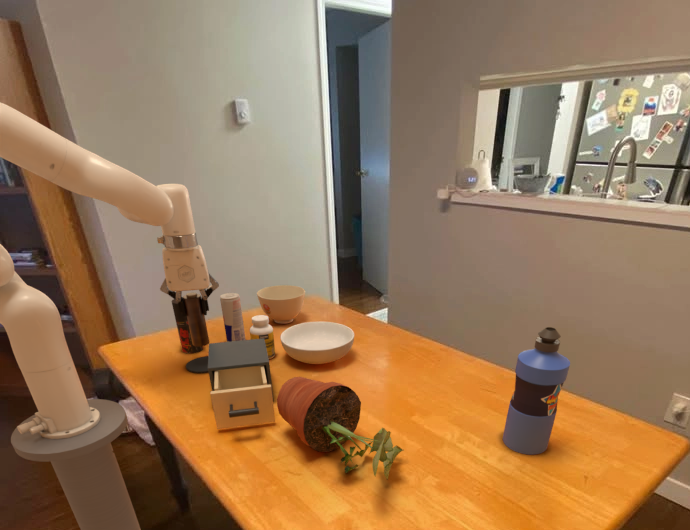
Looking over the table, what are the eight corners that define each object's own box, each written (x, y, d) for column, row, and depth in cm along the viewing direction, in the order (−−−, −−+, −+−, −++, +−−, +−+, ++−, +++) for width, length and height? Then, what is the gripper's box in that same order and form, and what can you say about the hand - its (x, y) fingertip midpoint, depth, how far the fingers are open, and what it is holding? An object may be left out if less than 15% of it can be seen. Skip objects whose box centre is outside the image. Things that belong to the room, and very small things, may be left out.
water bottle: (556, 442, 97) (587, 329, 84) (534, 460, 91) (563, 343, 78) (516, 424, 102) (539, 316, 89) (493, 441, 97) (514, 328, 84)
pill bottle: (255, 362, 130) (250, 323, 124) (250, 354, 135) (245, 315, 129) (278, 358, 132) (274, 319, 126) (272, 350, 137) (268, 312, 131)
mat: (202, 376, 122) (201, 374, 122) (178, 367, 127) (178, 365, 127) (231, 363, 129) (230, 361, 129) (207, 355, 134) (207, 353, 134)
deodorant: (206, 349, 138) (197, 300, 130) (188, 355, 134) (177, 305, 126) (196, 344, 141) (187, 295, 133) (178, 349, 138) (167, 300, 130)
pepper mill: (199, 347, 122) (189, 297, 115) (189, 344, 124) (178, 294, 117) (212, 342, 125) (203, 293, 118) (202, 339, 127) (193, 290, 120)
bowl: (315, 323, 157) (313, 294, 151) (271, 332, 149) (267, 302, 144) (295, 310, 168) (292, 282, 163) (253, 318, 161) (249, 289, 156)
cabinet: (273, 401, 111) (269, 361, 105) (215, 408, 108) (207, 368, 103) (268, 375, 123) (264, 338, 118) (215, 381, 120) (208, 343, 115)
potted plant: (270, 443, 99) (382, 521, 75) (262, 377, 92) (383, 440, 68) (327, 422, 108) (444, 485, 84) (324, 360, 101) (450, 410, 78)
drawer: (277, 432, 98) (273, 396, 94) (217, 440, 96) (210, 403, 91) (269, 393, 113) (265, 360, 108) (217, 399, 110) (211, 366, 105)
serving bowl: (268, 355, 134) (265, 333, 130) (324, 337, 146) (323, 316, 142) (311, 380, 121) (310, 356, 117) (369, 357, 133) (369, 335, 129)
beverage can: (246, 339, 145) (239, 291, 137) (245, 346, 140) (238, 297, 132) (228, 340, 144) (220, 292, 136) (226, 347, 139) (218, 298, 131)
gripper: (141, 246, 106) (159, 322, 116) (217, 242, 110) (228, 316, 119) (145, 240, 112) (162, 312, 122) (217, 236, 116) (228, 307, 125)
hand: (195, 313), depth 120 cm, fingers closed on pepper mill, 4 cm apart
